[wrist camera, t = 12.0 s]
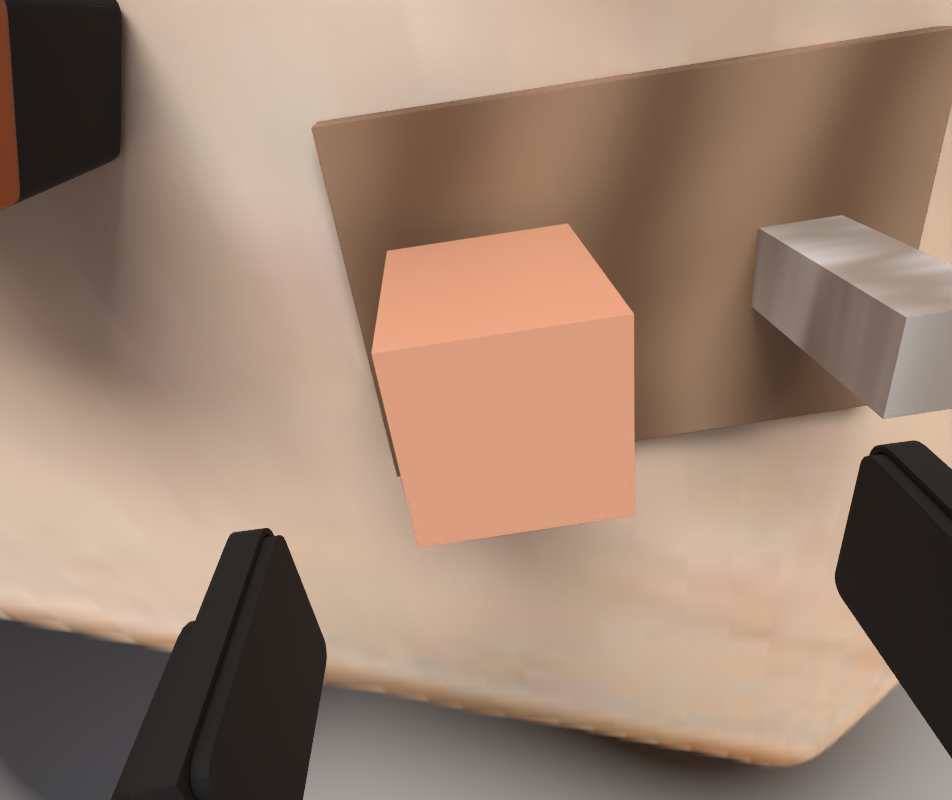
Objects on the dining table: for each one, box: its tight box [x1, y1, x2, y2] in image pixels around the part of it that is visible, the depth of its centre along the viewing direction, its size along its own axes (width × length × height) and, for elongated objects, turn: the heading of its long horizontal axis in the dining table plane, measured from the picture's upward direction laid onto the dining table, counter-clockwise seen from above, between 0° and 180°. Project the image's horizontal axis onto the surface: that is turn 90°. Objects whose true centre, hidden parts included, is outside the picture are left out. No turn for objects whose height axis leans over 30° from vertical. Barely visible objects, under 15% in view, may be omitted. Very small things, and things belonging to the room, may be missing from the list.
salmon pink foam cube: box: [371, 223, 635, 548], centre depth 17 cm, size 5×5×7 cm
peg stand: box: [312, 26, 952, 477], centre depth 18 cm, size 18×12×8 cm, turn 98°
